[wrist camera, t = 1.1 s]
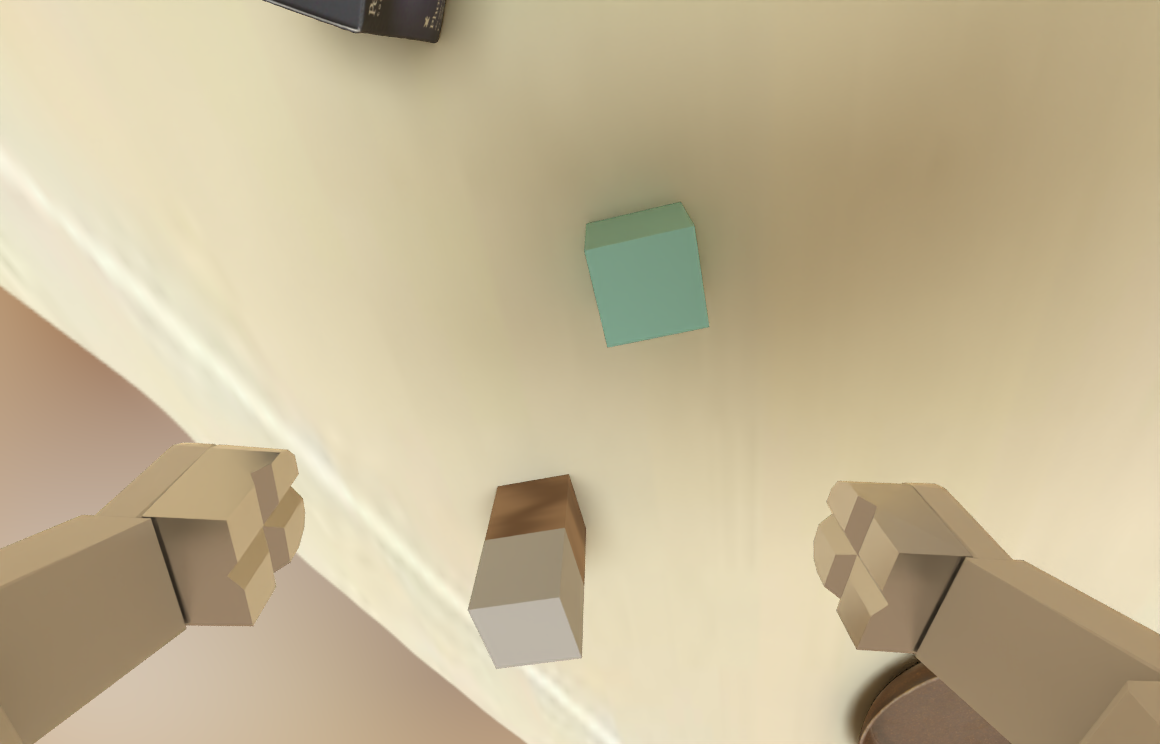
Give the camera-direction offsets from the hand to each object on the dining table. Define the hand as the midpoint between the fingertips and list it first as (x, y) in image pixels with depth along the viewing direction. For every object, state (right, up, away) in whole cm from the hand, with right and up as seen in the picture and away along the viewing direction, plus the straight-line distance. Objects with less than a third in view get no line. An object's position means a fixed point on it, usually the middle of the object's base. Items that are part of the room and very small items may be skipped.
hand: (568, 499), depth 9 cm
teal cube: (+4, +8, +22) cm, 24 cm away
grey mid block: (-3, -10, +27) cm, 29 cm away
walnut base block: (-2, -8, +31) cm, 32 cm away
